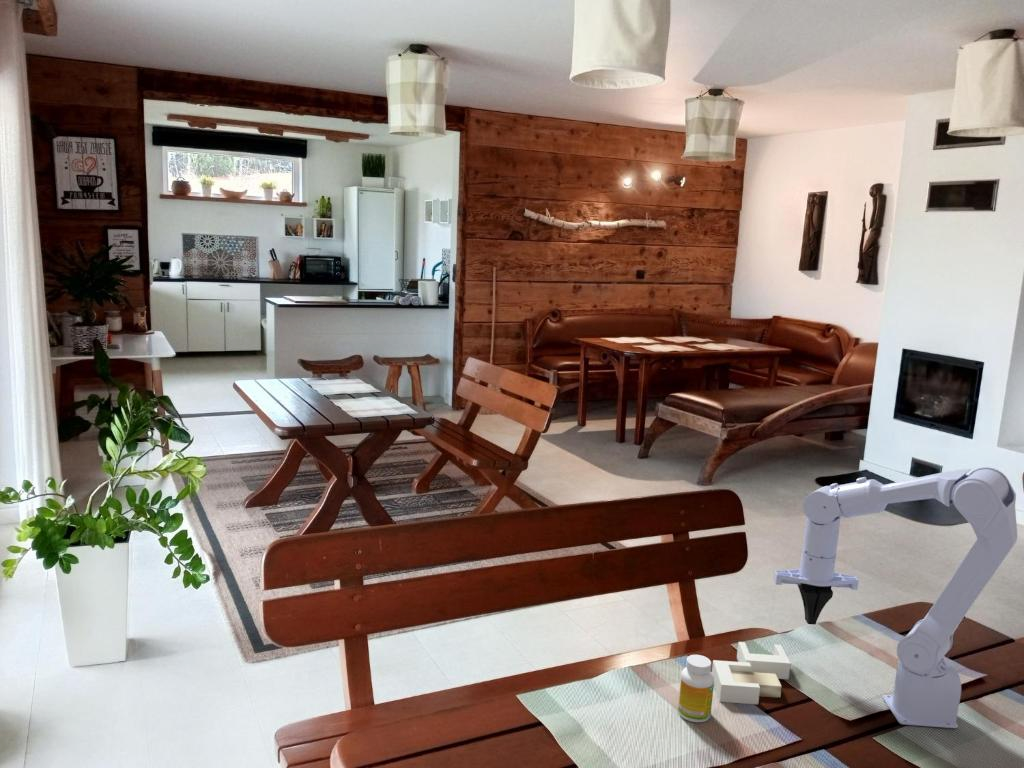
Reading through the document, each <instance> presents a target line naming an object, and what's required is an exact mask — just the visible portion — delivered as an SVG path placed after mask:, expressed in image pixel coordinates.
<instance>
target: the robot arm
mask: <svg viewBox="0 0 1024 768" xmlns="http://www.w3.org/2000/svg"><path fill="white" fill-rule="evenodd" d="M971 470H972V469H971V468H963V469H956V470H950V471H943V472H938V473H933V474H929V475H928V474H927V475H924V476H920V477H919V476H918V477H915V478H910V479H906V480H901V481H896V482H891V483H887V484H886V483H885V484H883V483H882V482H880V481H878V480H877V479H875V478H874V479H867V477H866V476H863V477H858V478H857V479H856V481H855V482H849V483H845V484H838V483H837V482H834V483H832V484H830V485H825V486H822V487H820V488H818V489H816V490H814V491H813V492H810V493H809V494H808V495H806V497H805V498H804V500H803V503H802V509H803V513H804V515H805V516H806V519H805V526H804V533H803V541H802V548H801V549H802V550H801V559H800V564H799V565H800V567H799V568H796V569H793V568H792V569H786V570H785V569H784V570H783V569H782V570H781V569H780V570H776V569H775V570H774V571H773V582H774V584H775V585H777V586H778V585H782V584H786V585H787V584H788V585H797V587H798V590H799V593H800V596H801V600H802V605H803V609H804V619H805V622H806V623H807V625H816V624H817V621H818V620H819V619H818V618H819V616H820V615H821V613H822V611H823V610H824V607H825V606H826V604H827V603H828V602H829V601H830V600H831V599H832V598H833V595H834V591H833V590H832V588H845V589H847V588H848V589H851V590H854V591H858V589H859V582H860V581H859V579H858V577H856V575H852V574H847V573H845V574H844V573H840V572H835V568H836V567H835V565H836V558H837V550H838V544H839V543H838V542H839V536H840V525H841V524H840V523H841V518H845V519H846V518H853V517H854V518H855V517H860V516H866V515H874V514H880V513H882V512H884V511H885V509H886V507H887V506H888V504H895V503H904V502H913V501H923V500H930V499H934V500H937V501H938V502H940V503H942V505H944V506H946V507H947V508H950V507H951V506H952V505H953V506H954V508H956V510H957V511H958V512H959V514H961V515H962V517H963V518H964V519H965V520H966V521H967V522H968V523H969V525H970V526H971V528H972V530H973V531H974V534H975V537H976V540H975V542H974V544H973V545H972V547H971V548H970V550H969V551H968V553H967V554H966V556H965V557H964V559H963V560H962V562H961V563H960V564H959V566H958V568H957V569H956V571H955V572H954V573H953V575H952V576H951V578H950V579H949V581H948V582H947V584H946V585H945V586H944V588H943V590H942V592H941V593H940V594H939V596H938V597H937V599H936V601H935V602H934V604H933V605H932V606H931V608H930V609H929V611H928V612H927V614H926V615H925V616H924V618H923V619H920V620H918V621H917V622H916V623H915V624H914V626H912V628H911V630H910V631H909V632H908V634H906V635H905V636H904V637H902V639H900V640H899V642H898V643H897V645H896V653H897V658H898V661H897V667H896V673H895V678H894V679H895V680H894V686H893V692H892V695H891V694H883V695H882V699H883V700H884V702H885V704H886V705H887V707H888V708H889V710H890V711H891V712H892V714H893V716H894V717H895V719H896V720H897V722H898V723H899V724H900V725H903V726H904V725H905V726H908V725H909V726H918V727H919V726H920V727H934V728H946V729H958V728H959V724H958V723H957V718H958V713H959V707H960V703H961V702H960V701H961V695H962V682H961V677H960V674H959V672H958V670H957V669H956V668H955V667H954V666H952V665H947V664H946V662H945V659H944V658H945V655H946V654H947V653H948V652H949V651H950V650H951V649H952V646H953V644H954V643H953V641H954V640H953V638H954V637H953V636H954V633H955V632H956V630H957V629H958V627H959V624H961V622H962V620H963V619H964V617H965V616H966V614H968V611H970V610H971V607H972V606H973V604H974V603H975V602H976V600H977V599H978V598H979V596H980V594H981V593H982V592H983V590H984V589H985V588H986V586H987V584H989V582H990V580H992V577H993V576H994V575H995V573H996V572H997V570H998V569H999V567H1000V566H1001V564H1002V563H1003V562H1004V560H1005V559H1006V557H1007V556H1008V554H1009V553H1010V552H1011V551H1012V549H1013V547H1014V546H1015V545H1016V544H1017V540H1018V528H1017V527H1018V525H1017V516H1016V515H1017V513H1016V499H1017V494H1016V492H1015V490H1014V488H1013V486H1012V484H1011V482H1010V480H1009V479H1008V477H1007V476H1006V475H1005V474H1004V473H1003V472H1002V471H1001V470H999V469H996V468H994V467H988V466H987V467H986V466H985V467H983V466H982V467H978V468H976V469H974V470H973V471H972V472H971ZM969 472H970V473H969ZM968 473H969V474H968Z"/></svg>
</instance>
